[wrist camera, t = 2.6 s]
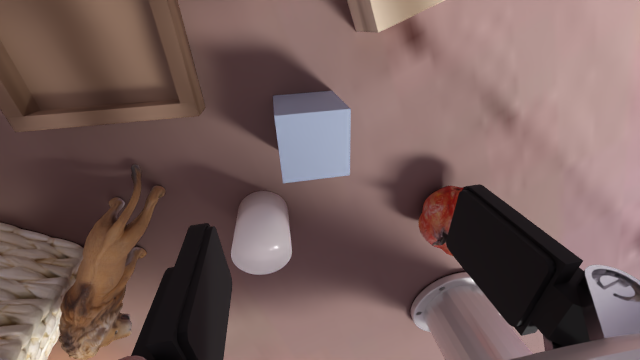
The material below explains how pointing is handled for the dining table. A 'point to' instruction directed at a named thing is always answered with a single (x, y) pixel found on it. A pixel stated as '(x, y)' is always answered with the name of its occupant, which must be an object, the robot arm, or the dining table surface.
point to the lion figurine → (105, 276)
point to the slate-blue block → (312, 135)
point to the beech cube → (385, 12)
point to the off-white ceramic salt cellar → (262, 234)
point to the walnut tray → (94, 63)
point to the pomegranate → (438, 216)
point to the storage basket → (33, 290)
